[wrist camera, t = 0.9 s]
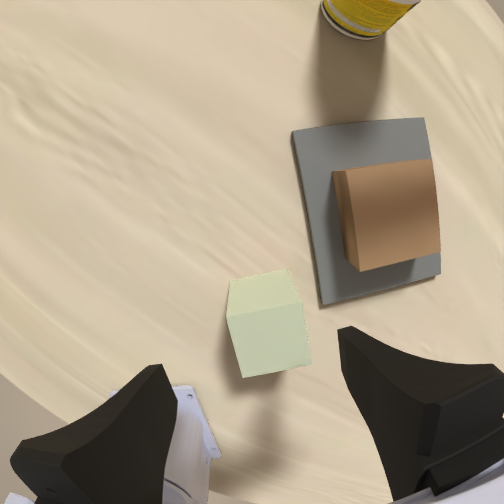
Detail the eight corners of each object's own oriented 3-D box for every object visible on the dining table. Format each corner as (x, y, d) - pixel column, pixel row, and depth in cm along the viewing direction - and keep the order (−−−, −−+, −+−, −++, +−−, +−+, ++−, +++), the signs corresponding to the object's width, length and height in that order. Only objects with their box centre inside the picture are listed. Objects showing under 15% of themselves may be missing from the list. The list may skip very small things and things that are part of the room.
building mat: (436, 271, 22) (440, 273, 22) (321, 301, 22) (323, 304, 22) (419, 118, 19) (423, 117, 19) (291, 132, 20) (292, 130, 19)
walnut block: (418, 242, 21) (440, 251, 18) (345, 259, 21) (360, 271, 18) (409, 160, 20) (431, 159, 17) (331, 171, 20) (345, 170, 17)
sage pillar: (296, 319, 23) (312, 364, 17) (242, 330, 23) (242, 377, 17) (287, 268, 22) (302, 301, 16) (230, 279, 22) (225, 316, 16)
